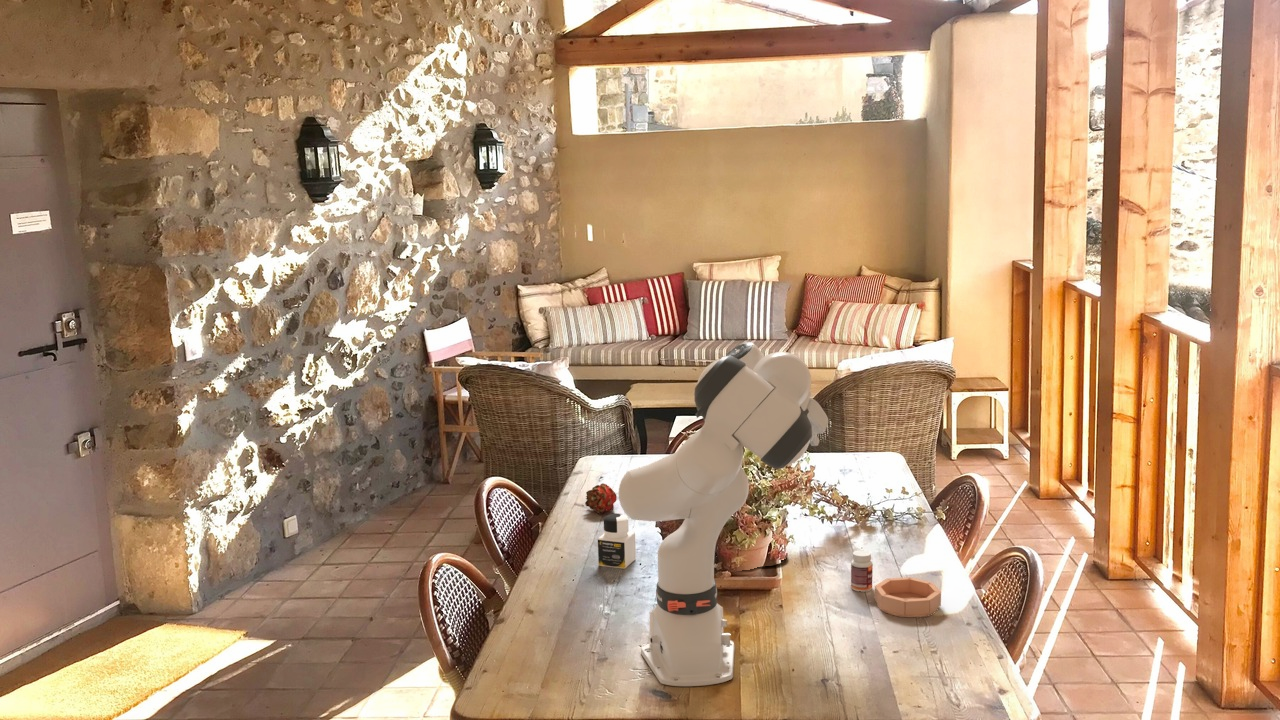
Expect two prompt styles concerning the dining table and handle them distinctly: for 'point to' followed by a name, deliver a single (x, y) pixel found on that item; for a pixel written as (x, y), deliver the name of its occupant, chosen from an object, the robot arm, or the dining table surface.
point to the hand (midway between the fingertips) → (797, 444)
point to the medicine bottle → (616, 542)
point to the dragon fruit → (601, 498)
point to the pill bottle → (861, 571)
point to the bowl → (907, 597)
